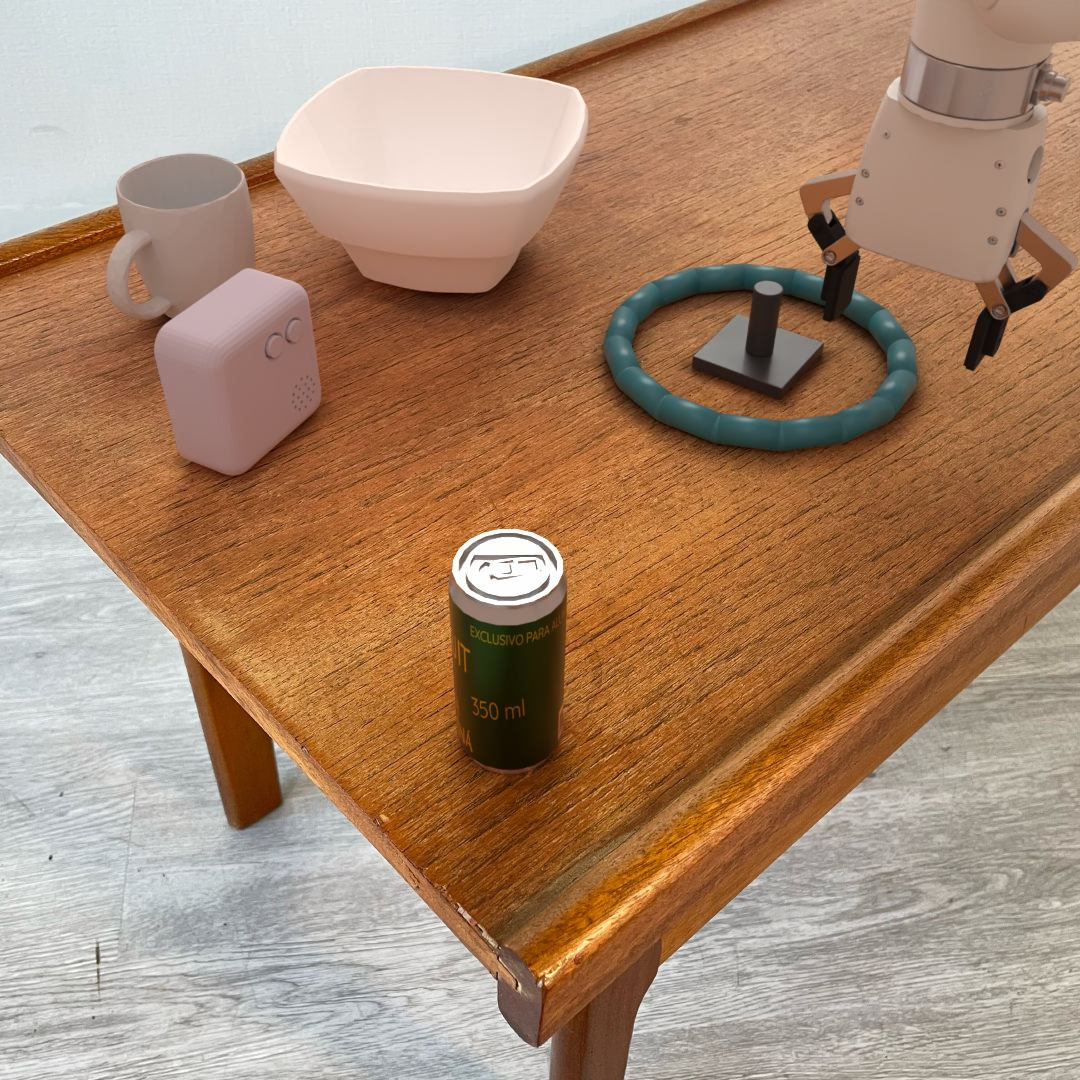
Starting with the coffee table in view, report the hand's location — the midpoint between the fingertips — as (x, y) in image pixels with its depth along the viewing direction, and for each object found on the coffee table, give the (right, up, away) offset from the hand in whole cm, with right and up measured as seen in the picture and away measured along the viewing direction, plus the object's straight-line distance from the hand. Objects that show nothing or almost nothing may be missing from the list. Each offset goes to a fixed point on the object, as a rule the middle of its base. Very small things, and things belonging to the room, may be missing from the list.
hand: (904, 335), depth 79 cm
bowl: (-32, +9, +18) cm, 37 cm away
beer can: (-25, -24, -18) cm, 39 cm away
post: (-8, -1, +8) cm, 11 cm away
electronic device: (-42, -7, +1) cm, 43 cm away
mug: (-50, +3, +12) cm, 52 cm away
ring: (-8, 0, +7) cm, 11 cm away
